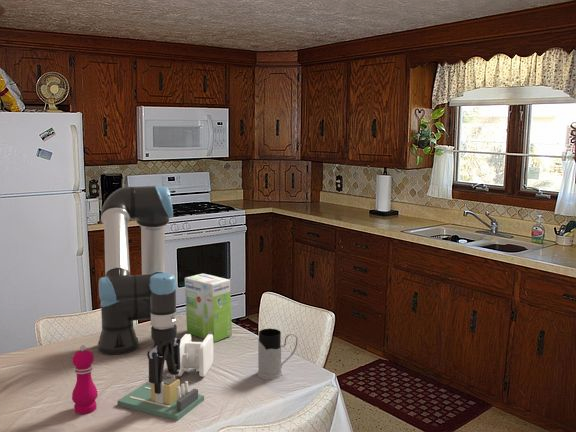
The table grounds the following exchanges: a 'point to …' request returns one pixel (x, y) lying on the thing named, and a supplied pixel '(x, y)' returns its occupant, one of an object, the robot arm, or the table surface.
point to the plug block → (167, 390)
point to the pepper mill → (84, 382)
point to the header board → (175, 411)
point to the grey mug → (270, 353)
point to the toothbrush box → (208, 306)
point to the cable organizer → (196, 354)
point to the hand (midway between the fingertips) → (165, 398)
